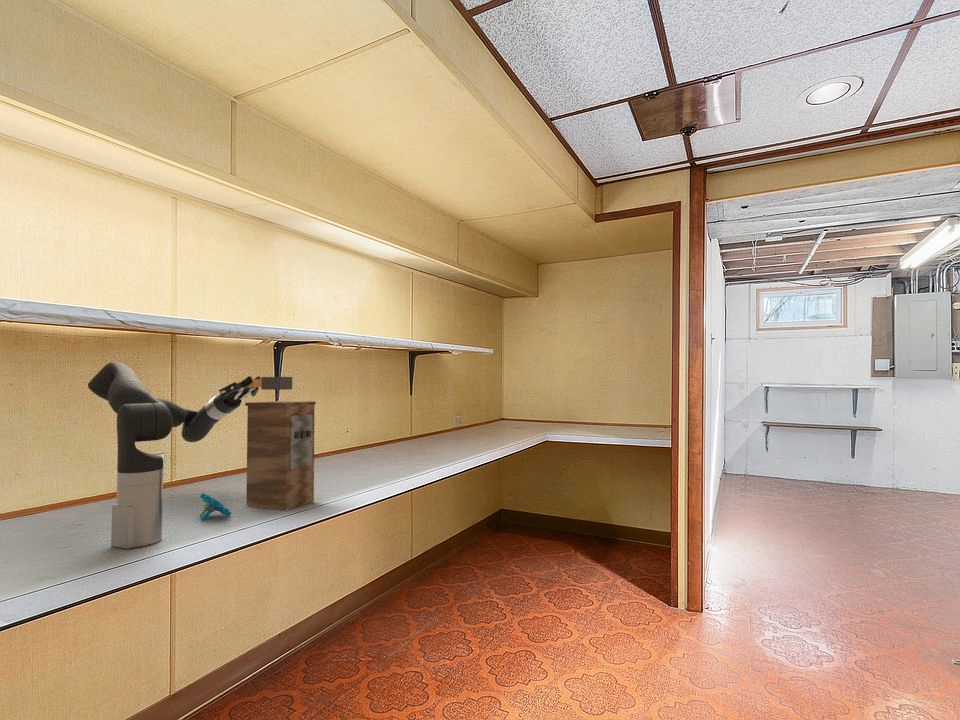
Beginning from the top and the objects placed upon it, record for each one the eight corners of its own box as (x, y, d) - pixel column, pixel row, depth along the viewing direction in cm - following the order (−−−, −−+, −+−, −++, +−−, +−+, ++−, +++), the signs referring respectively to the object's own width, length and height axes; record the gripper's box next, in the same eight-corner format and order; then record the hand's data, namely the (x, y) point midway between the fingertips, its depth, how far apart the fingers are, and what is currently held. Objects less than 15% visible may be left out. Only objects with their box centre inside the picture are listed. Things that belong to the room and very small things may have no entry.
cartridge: (280, 389, 156) (280, 376, 156) (239, 389, 163) (239, 377, 163) (292, 389, 160) (292, 377, 160) (251, 389, 168) (251, 377, 168)
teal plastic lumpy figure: (237, 513, 140) (209, 491, 136) (222, 531, 136) (192, 509, 132) (225, 511, 148) (198, 490, 144) (210, 529, 144) (181, 508, 140)
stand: (287, 511, 147) (288, 403, 149) (243, 505, 155) (245, 402, 156) (318, 501, 159) (318, 401, 161) (276, 497, 166) (277, 401, 168)
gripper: (244, 412, 175) (276, 388, 169) (208, 415, 162) (241, 388, 156) (237, 394, 177) (268, 369, 171) (200, 395, 164) (233, 368, 158)
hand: (255, 378), depth 164 cm, fingers closed on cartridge, 3 cm apart
